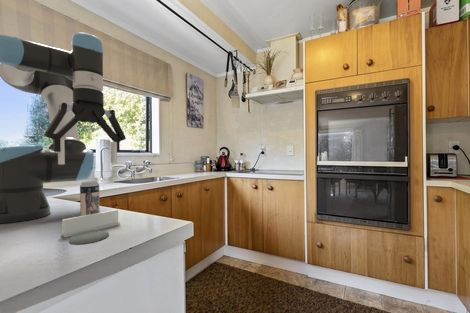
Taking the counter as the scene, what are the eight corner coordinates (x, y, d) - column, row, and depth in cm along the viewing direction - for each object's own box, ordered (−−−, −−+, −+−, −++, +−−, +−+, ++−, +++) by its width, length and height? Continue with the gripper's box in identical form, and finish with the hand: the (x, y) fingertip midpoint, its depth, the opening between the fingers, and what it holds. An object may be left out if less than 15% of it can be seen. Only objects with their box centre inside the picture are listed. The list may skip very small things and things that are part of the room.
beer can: (90, 226, 65) (90, 183, 65) (76, 225, 66) (75, 182, 66) (103, 221, 69) (103, 181, 69) (90, 220, 70) (89, 181, 70)
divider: (61, 235, 58) (60, 218, 58) (114, 222, 68) (114, 209, 68) (65, 237, 56) (64, 220, 56) (119, 224, 66) (119, 210, 66)
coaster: (63, 239, 55) (63, 237, 55) (100, 230, 61) (100, 228, 61) (76, 247, 50) (75, 245, 50) (114, 236, 56) (114, 234, 56)
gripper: (36, 76, 55) (37, 165, 55) (136, 96, 75) (137, 162, 75) (28, 82, 60) (30, 165, 60) (124, 100, 80) (125, 162, 80)
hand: (89, 163), depth 67 cm, fingers open, 13 cm apart
